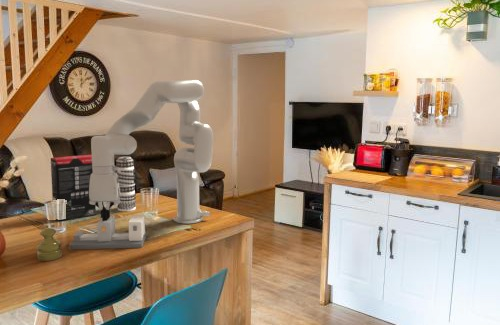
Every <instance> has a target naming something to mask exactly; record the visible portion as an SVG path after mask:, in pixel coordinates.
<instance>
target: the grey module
mask: <svg viewBox="0 0 500 325" xmlns="http://www.w3.org/2000/svg"><path fill="white" fill-rule="evenodd" d="M96 229H97V231H96V233H98V242H105V241H111V240H112V236H113V235H114V234H116V233H117V232H116V216H115V215H110V218H109V219H108V220H107V221H105V220H104V221H102V218H101V217H100V219H99V220H98V221H97V222H96Z"/></svg>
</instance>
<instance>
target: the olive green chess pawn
mask: <svg viewBox="0 0 500 325" xmlns="http://www.w3.org/2000/svg"><path fill="white" fill-rule="evenodd" d="M56 233H57V230H56V229H54V228H51V227H45V228H44V229H42V230H41V231H39V235H40V236H42V237H43V239H42V240H41V241H40V243H38V244H37V245H36V250H37V252H36V254H37V260H38V261H40V262H50V261H55V260H58V259H60V258H61V257H62V256H63V255H62V254H63V253H62V252H63V251H62V243H61V242H60V241H59V240H57V239H55V238H54V235H55V234H56Z"/></svg>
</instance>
